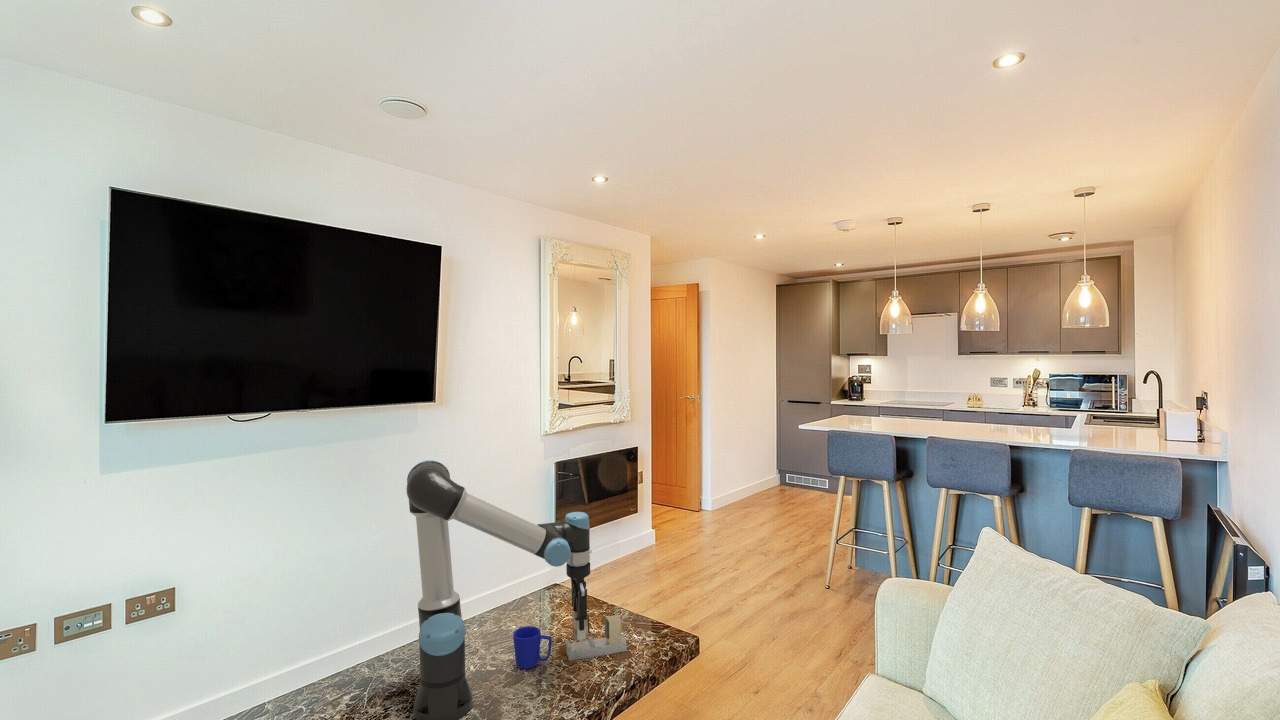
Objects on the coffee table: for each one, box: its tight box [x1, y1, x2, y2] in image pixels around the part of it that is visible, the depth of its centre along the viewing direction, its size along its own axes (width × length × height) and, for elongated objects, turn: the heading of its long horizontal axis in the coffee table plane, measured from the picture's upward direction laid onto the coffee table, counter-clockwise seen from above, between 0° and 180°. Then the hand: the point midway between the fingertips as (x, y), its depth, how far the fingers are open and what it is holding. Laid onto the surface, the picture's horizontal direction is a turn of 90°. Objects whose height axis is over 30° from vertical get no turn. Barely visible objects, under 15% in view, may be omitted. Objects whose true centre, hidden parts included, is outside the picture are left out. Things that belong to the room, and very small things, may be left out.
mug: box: [512, 625, 553, 670], centre depth 179 cm, size 8×12×10 cm
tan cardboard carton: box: [571, 613, 590, 642], centre depth 185 cm, size 5×4×7 cm
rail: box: [564, 614, 627, 662], centre depth 187 cm, size 19×5×10 cm, turn 108°
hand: (579, 635), depth 185 cm, fingers closed on tan cardboard carton, 4 cm apart
